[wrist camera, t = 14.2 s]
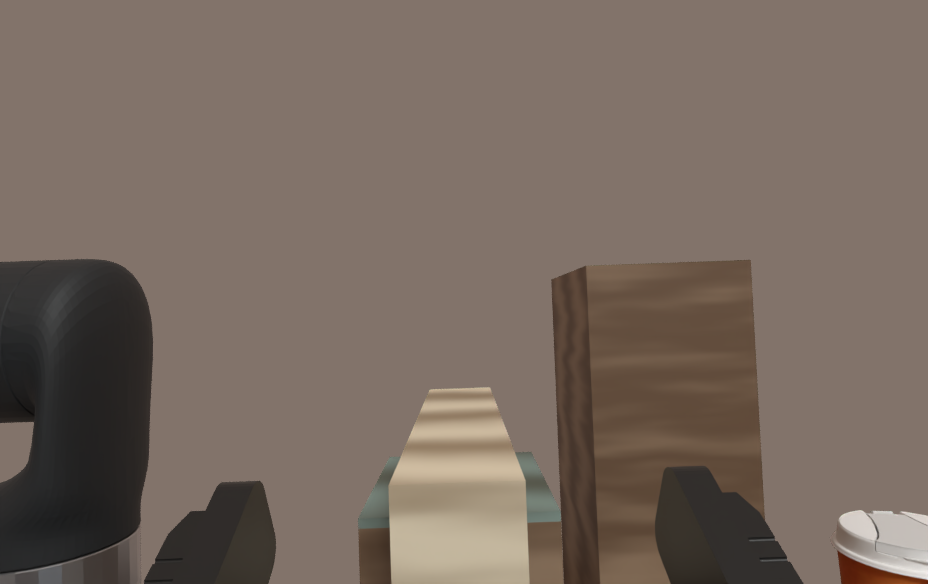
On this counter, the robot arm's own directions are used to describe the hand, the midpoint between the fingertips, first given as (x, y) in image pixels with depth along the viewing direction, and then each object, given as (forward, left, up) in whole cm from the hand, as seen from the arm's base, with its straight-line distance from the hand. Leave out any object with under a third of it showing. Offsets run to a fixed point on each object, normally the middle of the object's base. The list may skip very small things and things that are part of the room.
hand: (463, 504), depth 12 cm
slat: (+8, +14, -4) cm, 17 cm away
